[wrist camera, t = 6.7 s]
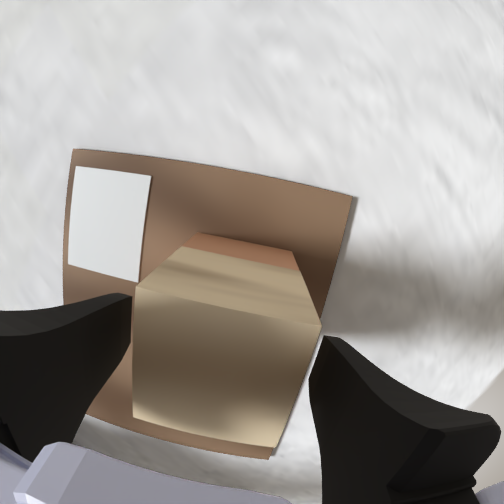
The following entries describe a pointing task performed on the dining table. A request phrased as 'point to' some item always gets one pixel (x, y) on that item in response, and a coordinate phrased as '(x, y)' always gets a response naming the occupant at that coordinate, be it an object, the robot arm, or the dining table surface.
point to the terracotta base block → (242, 250)
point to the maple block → (221, 346)
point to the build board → (174, 236)
